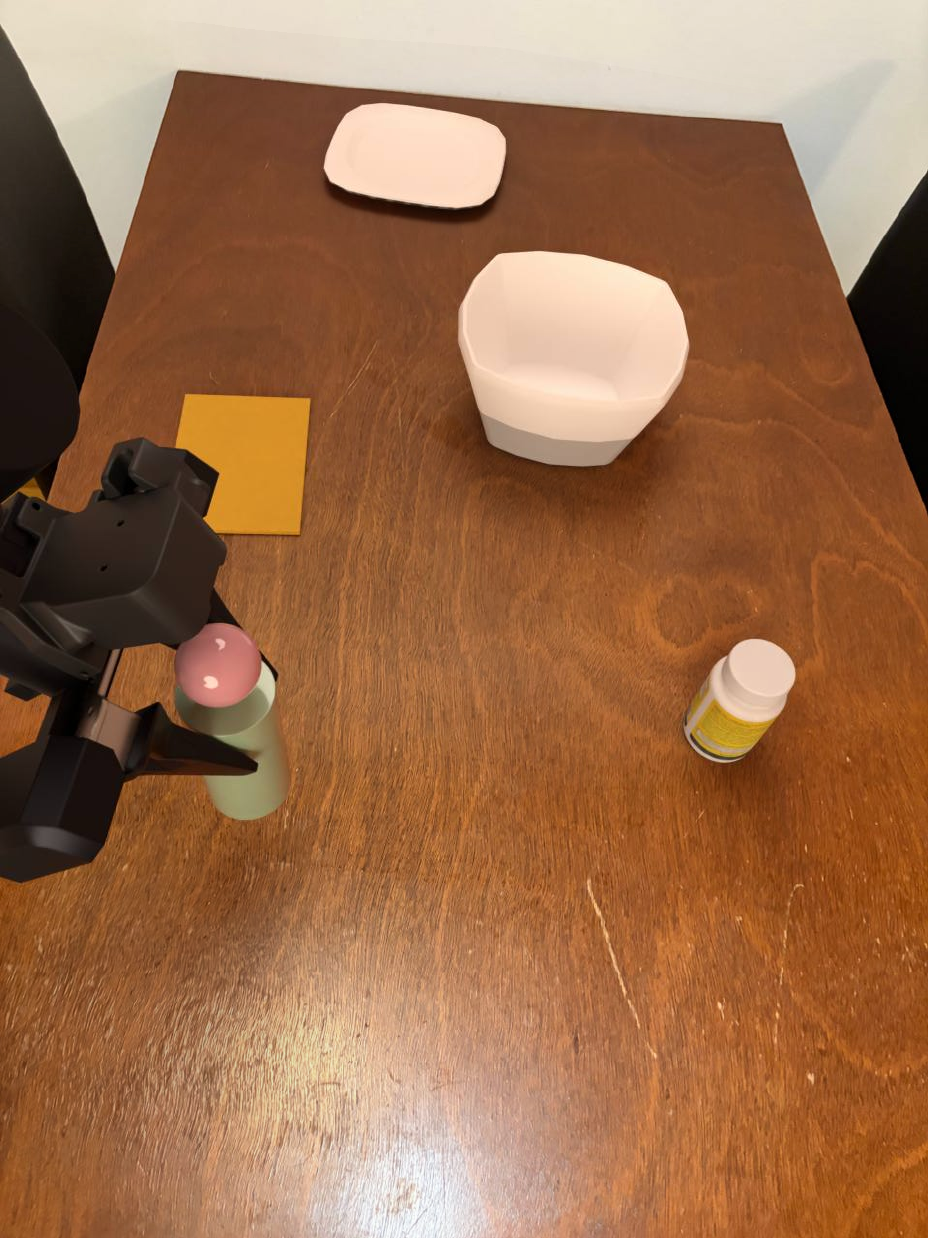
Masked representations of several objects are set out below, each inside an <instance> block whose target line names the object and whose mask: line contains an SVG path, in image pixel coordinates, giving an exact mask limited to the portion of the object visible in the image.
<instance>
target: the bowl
mask: <svg viewBox="0 0 928 1238" xmlns="http://www.w3.org/2000/svg"><path fill="white" fill-rule="evenodd" d="M457 312H458V313H457V343H458V345H459V346H458V347H459V350H460V353H461V356H462V359H463V363H464V366H465V369H466V373H467V376H468V379H469V381H470V384H471V388H472V392H473V395H474V399H475V403H476V407H477V409H478V411H479V415H480V417H481V421H482V425H483V429H484V432H485V436H486V440H487V441H488V443H489V444H490V445H491V446H493V447H494V448H497V449H500V450H502V451H504V452H507V453H508V454H512V455H514V456H516V457H520V458H524V459H528V460H531V461H535V462H539V463H543V464H546V465H555V466H569V467H592V466H593V467H594V466H595V467H596V466H606V465H609V464H611V463H612V462H613V461H614V460H615V459H616V458H617V457H618V456H619V455H620V454H621V453H622V452H623V451H624V450H625V449H626V447H627V446H628V445H630V443H631V442H632V441H633V440H634V439H635V438H636V437H637V436H638V435H639V434H640V433H641V432H642V431H643V430H644V429H645V428H646V427H647V426H648V424H649V423H650V422H651V421H652V420H653V419H654V418H655V417H656V416H657V415H658V414H659V413H660V412H661V410H663V408H664V407H665V406H666V405H667V403H668V402H669V400H670V399H671V397H672V396H673V395H674V393H675V391H676V389H677V388H678V386H679V385H680V384H681V382H682V381H683V377H684V373H685V370H686V365H687V361H688V356H689V352H690V340H689V336H688V330H687V326H686V320H685V315H684V312H683V309H682V308H681V306H680V304H679V302H678V300H677V298H676V297H675V294H674V293H673V291H672V289H671V287H670V285H669V284H668V282H666V281H665V280H663V279H661V278H659V277H656V276H654V275H651V274H649V273H646V272H643V271H642V270H638V269H637V268H635V267H632V266H630V265H626V264H622V263H619V262H613V261H610V260H606V259H602V258H598V257H594V256H590V255H586V254H577V253H567V252H556V251H541V250H535V251H533V250H532V251H522V252H521V251H520V252H519V251H518V252H507V253H506V252H505V253H498V254H497V255H495V256H494V257H493V259H491V260H490V262H488V263H487V265H485V267H484V268H483V269H482V270H481V271H480V272H479V273H478V274H477V275H476V276H475V277H474V278H473V279H472V282H471V284H470V285H469V288H468V290H467V292H466V294H465V296H464V298H463V300H462V302H461V304H460V306H459V308H458V310H457Z"/></svg>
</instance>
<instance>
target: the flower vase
mask: <svg viewBox="0 0 928 1238" xmlns="http://www.w3.org/2000/svg"><path fill="white" fill-rule="evenodd" d="M259 650H260V648H259V646H258V644H257V643H256V641H255V640H254V639H253V637H252V636H251V635H250V634H249V633H248V632H246V631H245V629H243V630H242V629H240V628H238V627H236V626H234V625H231V624H226V623H210V624H206V625H205V626H204V628H203V629H202V630H201V631H200V632H199V633H198V634H197V635H196V636H195V637H193V638H192V639H190V640H188V641H186V642H183V643H180V645H179V646H178V649H177V651H176V650H175V654H174V658H173V674H174V677H175V678H174V679H175V681H176V685H175V689H174V698H173V699H174V706H175V709H176V712H177V715H178V717H179V721H180V723H181V725H182V727H184V728H186V729H188V730H191V731H193V732H195V733H198V734H200V735H203V736H205V737H207V738H210V739H212V740H214V741H217V742H219V743H222V744H224V745H226V746H229V747H231V748H233V749H236V750H238V751H240V752H241V753H243V754H245V755H246V756H248V757H249V758H251V759H253V760H254V761H256V762H257V763H258V769H257V772H255V773H252V774H249V775H246V776H201V778H202V780H203V783H204V786H205V790H206V791H207V794H208V797H209V799H210V802H211V803H212V805H213V806H214V807H215V808H216V810H217V811H219V812H220V813H221V814H223V815H224V816H226V817H228V818H231V819H233V820H237V821H253V820H257V819H260V818H261V819H262V818H264V817H266V816H268V815H270V814H271V813H273V812H274V811H276V810H277V809H278V808H280V806H281V805H282V804H283V803H284V802H285V799H286V798H287V796H288V795H289V792H290V790H291V785H292V772H291V765H290V760H289V754H288V748H287V744H286V743H287V741H286V737H285V731H284V726H283V725H284V724H283V719H282V714H281V708H280V702H279V696H278V690H277V684H276V682H275V680H274V676H273V674H272V672H271V670H270V669H269V667H268V666H267V665H266V664H265V663H264V662H263V661H262V660H261V654H260V651H261V650H260V651H259Z"/></svg>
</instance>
